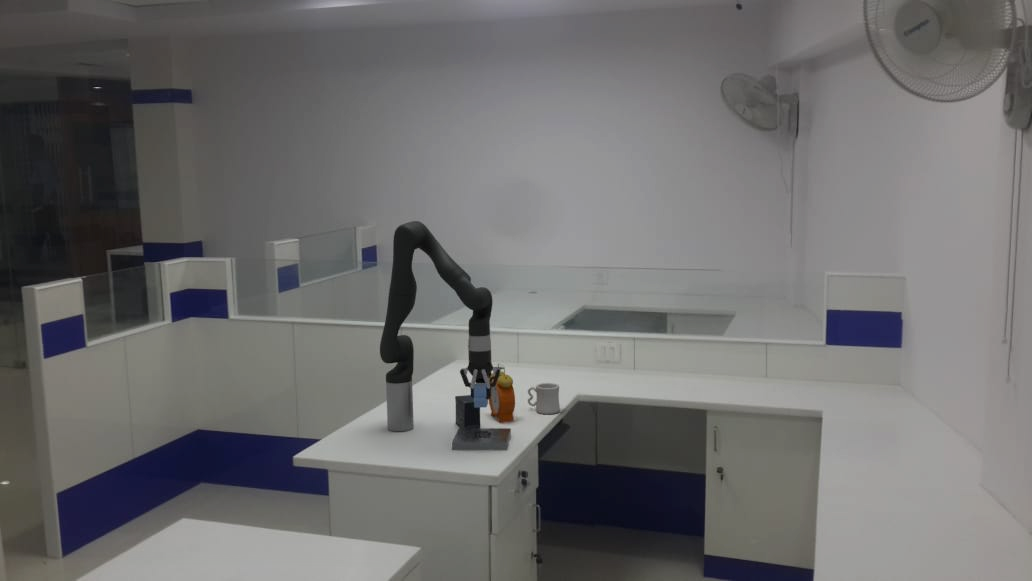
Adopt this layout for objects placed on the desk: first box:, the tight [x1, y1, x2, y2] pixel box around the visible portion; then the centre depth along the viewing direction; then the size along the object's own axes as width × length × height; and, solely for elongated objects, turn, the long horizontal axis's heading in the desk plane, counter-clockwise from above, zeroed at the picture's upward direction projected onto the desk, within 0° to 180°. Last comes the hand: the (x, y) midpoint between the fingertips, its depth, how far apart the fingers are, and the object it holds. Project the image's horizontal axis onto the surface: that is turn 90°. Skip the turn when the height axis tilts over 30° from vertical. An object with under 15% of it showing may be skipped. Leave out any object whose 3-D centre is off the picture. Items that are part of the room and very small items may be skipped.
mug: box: [527, 382, 561, 415], centre depth 326 cm, size 12×9×10 cm
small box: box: [455, 394, 481, 428], centre depth 307 cm, size 11×6×10 cm, turn 22°
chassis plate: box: [451, 427, 512, 451], centre depth 289 cm, size 16×18×2 cm
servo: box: [473, 382, 489, 408], centre depth 287 cm, size 9×4×7 cm, turn 176°
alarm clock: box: [488, 363, 516, 424], centre depth 316 cm, size 13×6×20 cm, turn 21°
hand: (481, 398), depth 287 cm, fingers closed on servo, 4 cm apart
